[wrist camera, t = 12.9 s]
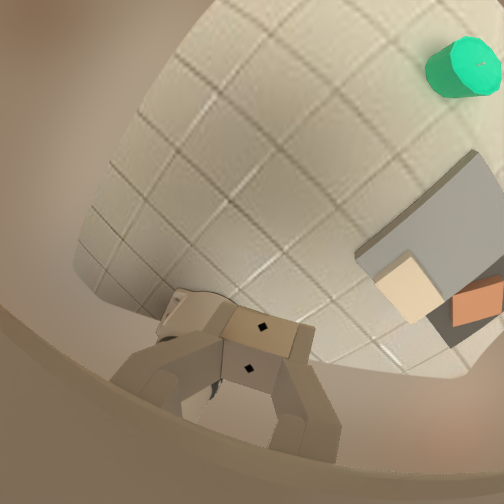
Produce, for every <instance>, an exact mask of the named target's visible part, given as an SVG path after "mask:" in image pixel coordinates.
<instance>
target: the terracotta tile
mask: <svg viewBox="0 0 504 504" xmlns="http://www.w3.org/2000/svg"><path fill="white" fill-rule="evenodd" d="M503 288H504V281H503V279H502V278H501V276H500V275H495V276H492V277H489V278H485V279H482V280H478V281H474V282H471V283H469V284H468V285H466V286H465V287H464V288H462V289H461V290H460V291H459V292H457V293H456V294H455V295H453V296H452V297H450V319H451V322H452V326H453V327H455V326H459V325H463V324H466V323H470V322H474V321H477V320H481V319H484V318H488V317H491V316H494V315H497V314H501V312H502V302H503Z"/></svg>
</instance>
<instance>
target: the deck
mask: <svg viewBox="0 0 504 504" xmlns="http://www.w3.org/2000/svg"><path fill="white" fill-rule="evenodd" d="M407 250H409V251H410V252H411V253H412V254H413V256H414V257H415V258H416V260H417V261H418V262H419V263H420V265H421V266H422V267H423V269H424V270H425V271H426V273H427V274H428V275H429V277H430V278H431V279H432V281H433V282H434V283H435V285H436V286H437V288H438V289H439V290H440V292H441V293H442V295H443V298H444V301H446V300H448V299H449V298H450V297H452V296H453V295H455V294H456V293H457V292H459V291H460V290H461V289H462V288H464V287H465V286H466V285H468V284H469V283H470V282H471V281H473V280H474V279H475V278H477V277H478V276H479V275H480V274H481V273H483V272H484V271H485V270H486V269H488V268H489V267H490V266H491V265H492V264H493V263H495V262H496V261H497V260H498V259H499V258H500V257H502V256H503V255H504V193H503V191H502V189H501V187H500V185H499V184H498V182H497V180H496V179H495V177H494V175H493V174H492V172H491V170H490V169H489V167H488V165H487V164H486V162H485V161H484V159H483V158H482V156H481V155H480V153H479V152H477V151H474V150H471V151H470V152H469V153H468V154H467V155H466V156H465V157H464V158H463V159H462V160H461V161H459V162H458V163H457V164H456V165H455V166H454V167H453V168H452V169H451V170H450V171H449V172H448V173H447V174H446V175H445V176H443V177H442V178H441V179H440V180H439V181H438V182H437V183H436V184H435V185H434V186H432V187H431V188H430V189H429V190H428V191H427V192H426V193H425V194H424V195H422V196H421V197H420V198H419V199H418V200H417V201H416V202H414V203H413V204H412V205H411V206H410V207H409V208H408V209H406V210H405V211H404V212H403V213H402V214H401V215H399V216H398V217H397V218H396V219H395V220H394V221H392V222H391V223H390V224H389V225H388V226H387V227H385V228H384V229H383V230H382V231H381V232H379V233H378V234H377V235H376V236H374V237H373V238H372V239H371V240H370V241H368V242H367V243H366V244H365V245H363V246H362V247H361V248H360V249H359V250H357V251H356V252H355V261H356V262H357V263H358V264H359V266H360V267H361V268H362V269H363V270H364V271H365V272H366V273H367V274H368V275H369V276H370V278H371V279H372V280H373V281H374V276H375V275H376V274H378V273H379V272H380V271H382V270H383V269H384V268H386V267H387V266H388V265H389V264H391V263H392V262H393V261H395V260H396V259H397V258H398V257H400V256H401V255H402V254H404V253H405V252H406V251H407Z"/></svg>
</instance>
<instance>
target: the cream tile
mask: <svg viewBox="0 0 504 504" xmlns="http://www.w3.org/2000/svg"><path fill="white" fill-rule="evenodd" d="M374 282H375V285H376V286H377V287H378V288H379V289H380V291H381V292H382V293H383V294H384V295H385V296H386V297H387V298H388V299H389V301H390V302H391V303H392V304H393V305H394V306H395V307H396V309H397V310H398V311H399V312H400V313H401V314H402V316H403V317H404V318H405V319H406V320H407V321H408V323H409V324H410V325H412V324H413V323H415V322H416V321H418V320H419V319H421V318H422V317H424V316H425V315H427V314H428V313H430V312H431V311H433V310H434V309H436V308H437V307H438V306H440V305H441V304H443V303H444V302H445V301H444V298H443V295H442V293H441V292H440V290H439V289H438V288H437V286H436V285H435V283H434V282H433V281H432V279H431V278H430V277H429V275H428V274H427V273H426V271H425V270H424V269H423V267H422V266H421V265H420V263H419V262H418V261H417V260H416V258H415V257H414V256H413V254H412V253H411V252H410V251H409V250H407V251H406V252H405V253H404V254H402V255H401V256H400V257H398V258H397V259H396V260H395V261H393V262H392V263H391V264H389V265H388V266H387V267H386V268H384V269H383V270H382V271H380V272H379V273H378V274H376V275H375V276H374Z"/></svg>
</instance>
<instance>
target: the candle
mask: <svg viewBox="0 0 504 504" xmlns="http://www.w3.org/2000/svg"><path fill="white" fill-rule="evenodd" d="M425 70H426V77H427V81H428V82H429V84H430V85H431V87H432V88H433V90H434V91H436V92H437V93H439V94H440V95H442V96H443V97H447V98H462V97H473V96H487V95H490V94H492V93H494V92H495V91H497V90H499V86H500V82H501V78H502V76H501V62H500V61H499V59H498V58H497V56H496V55H495V54H494V52H493V51H492V49H491V48H490V47H489V46H487V45H486V44H485V43H484V42H483V41H482V40H481V39H479V38H474V37H468V36H465V37H463V38H461V39H459V40H457V41H455V42H453V43H452V44H450V45H449V46H447V47H446V48H444V49H443V50H441V51H440V52H438V53H437V54H435V55H434V56H432V57H431V58H429V60H428V63H427V65H426V67H425Z"/></svg>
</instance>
